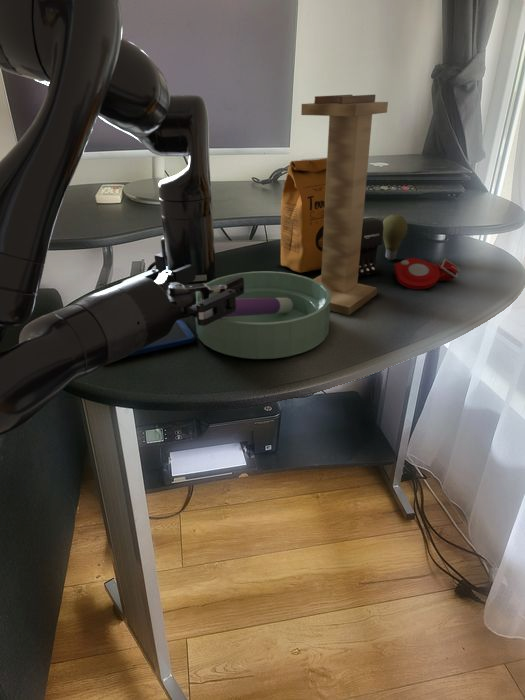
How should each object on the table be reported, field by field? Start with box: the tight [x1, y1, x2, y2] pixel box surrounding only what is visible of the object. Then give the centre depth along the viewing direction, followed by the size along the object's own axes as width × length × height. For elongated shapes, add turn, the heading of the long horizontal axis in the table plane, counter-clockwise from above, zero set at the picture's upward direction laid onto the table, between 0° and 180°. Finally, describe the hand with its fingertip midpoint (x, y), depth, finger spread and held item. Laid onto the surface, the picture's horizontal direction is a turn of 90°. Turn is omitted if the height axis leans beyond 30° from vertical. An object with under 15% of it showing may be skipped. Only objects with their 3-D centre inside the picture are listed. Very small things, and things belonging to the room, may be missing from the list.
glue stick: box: [224, 298, 293, 317], centre depth 74 cm, size 18×3×3 cm, turn 143°
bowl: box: [194, 270, 331, 360], centre depth 76 cm, size 21×21×6 cm
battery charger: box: [358, 216, 384, 278], centre depth 96 cm, size 7×4×11 cm, turn 116°
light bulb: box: [382, 213, 409, 262], centre depth 104 cm, size 6×6×10 cm
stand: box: [300, 94, 389, 316], centre depth 81 cm, size 12×11×33 cm
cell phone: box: [125, 319, 196, 358], centre depth 74 cm, size 7×14×1 cm, turn 115°
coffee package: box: [280, 157, 327, 274], centre depth 98 cm, size 10×12×22 cm
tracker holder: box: [393, 257, 461, 290], centre depth 95 cm, size 12×4×10 cm
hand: (216, 277), depth 64 cm, fingers open, 8 cm apart
